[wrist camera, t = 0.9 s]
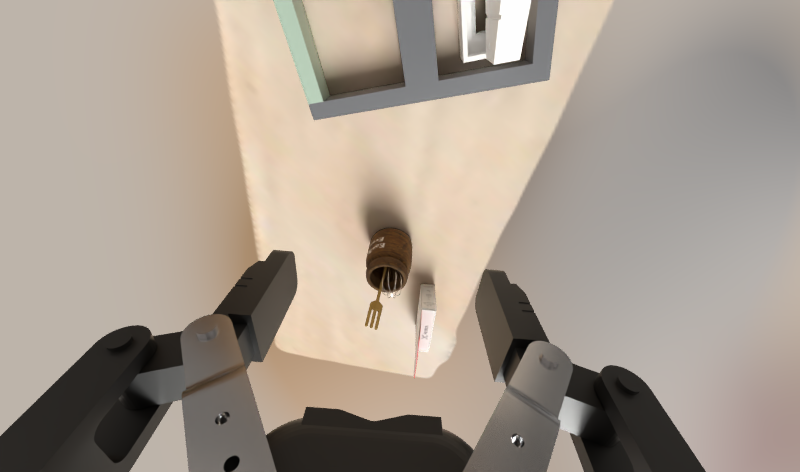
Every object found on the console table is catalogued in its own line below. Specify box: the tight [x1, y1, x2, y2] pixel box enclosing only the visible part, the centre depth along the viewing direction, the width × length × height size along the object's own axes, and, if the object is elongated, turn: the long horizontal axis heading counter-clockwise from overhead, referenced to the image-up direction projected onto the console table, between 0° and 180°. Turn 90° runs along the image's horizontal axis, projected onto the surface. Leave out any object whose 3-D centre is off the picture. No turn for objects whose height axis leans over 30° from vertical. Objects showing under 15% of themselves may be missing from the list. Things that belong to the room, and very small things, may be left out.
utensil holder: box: [365, 228, 412, 330], centre depth 37 cm, size 6×6×12 cm
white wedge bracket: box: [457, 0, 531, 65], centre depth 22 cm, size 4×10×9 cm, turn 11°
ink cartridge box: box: [414, 284, 436, 378], centre depth 45 cm, size 2×11×10 cm, turn 178°
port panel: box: [273, 0, 558, 120], centre depth 25 cm, size 11×22×2 cm, turn 100°
